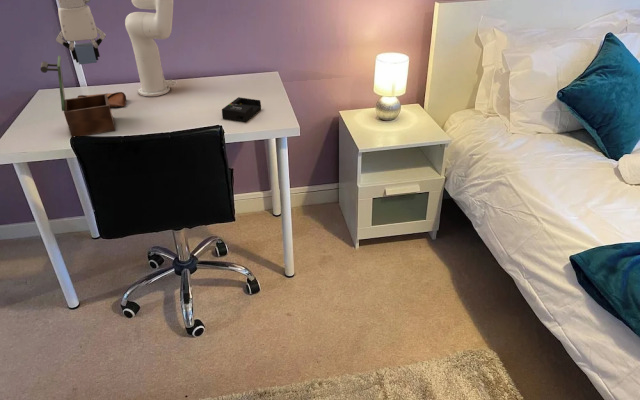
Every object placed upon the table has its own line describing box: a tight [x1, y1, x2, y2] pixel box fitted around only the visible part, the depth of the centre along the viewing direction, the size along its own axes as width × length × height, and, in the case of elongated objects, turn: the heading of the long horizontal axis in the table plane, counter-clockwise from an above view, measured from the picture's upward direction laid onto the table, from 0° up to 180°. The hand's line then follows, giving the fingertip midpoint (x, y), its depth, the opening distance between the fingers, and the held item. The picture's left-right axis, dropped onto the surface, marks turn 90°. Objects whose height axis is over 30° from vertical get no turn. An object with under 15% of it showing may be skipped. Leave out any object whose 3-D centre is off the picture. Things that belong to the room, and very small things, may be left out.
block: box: [74, 41, 98, 65], centre depth 160 cm, size 5×5×5 cm
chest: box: [63, 93, 116, 138], centre depth 170 cm, size 14×13×9 cm
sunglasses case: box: [76, 91, 127, 109], centre depth 189 cm, size 18×7×7 cm, turn 105°
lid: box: [40, 55, 66, 112], centre depth 160 cm, size 15×13×6 cm
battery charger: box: [221, 96, 262, 124], centre depth 180 cm, size 13×10×4 cm
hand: (87, 59), depth 161 cm, fingers closed on block, 5 cm apart
